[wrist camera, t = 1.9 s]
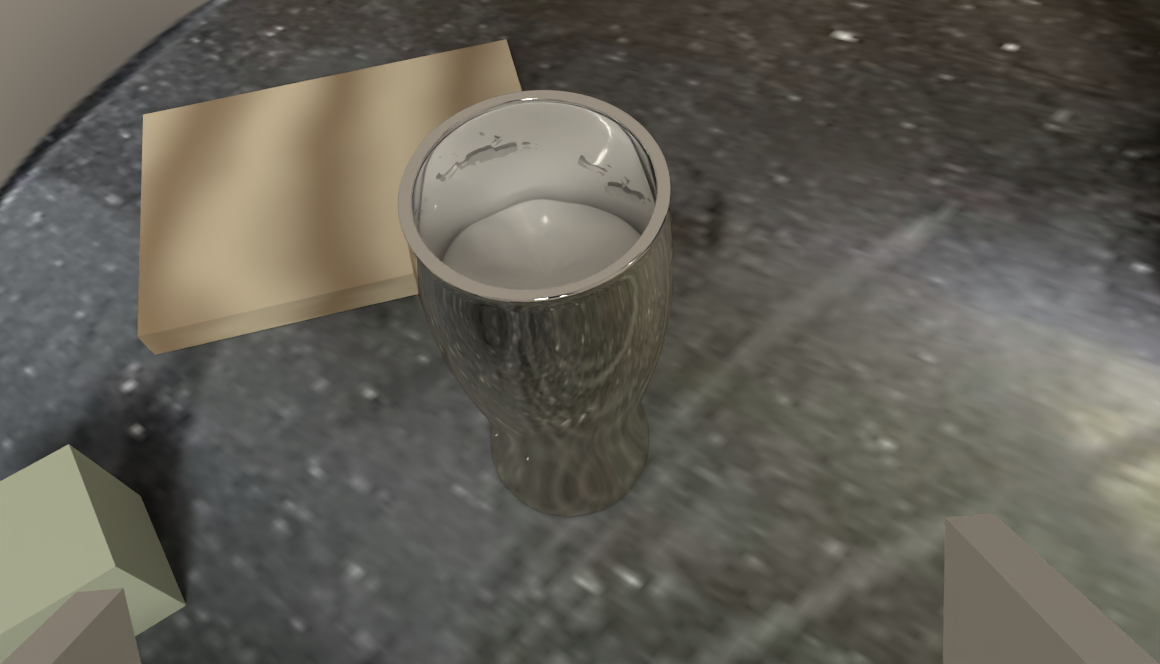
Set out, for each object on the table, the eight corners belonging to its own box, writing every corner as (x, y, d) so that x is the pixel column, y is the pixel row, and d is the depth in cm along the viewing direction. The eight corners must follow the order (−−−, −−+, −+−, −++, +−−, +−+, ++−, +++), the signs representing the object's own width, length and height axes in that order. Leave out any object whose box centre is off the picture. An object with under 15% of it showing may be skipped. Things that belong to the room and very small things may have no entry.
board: (509, 62, 44) (506, 39, 43) (569, 258, 38) (566, 238, 37) (157, 136, 43) (143, 114, 42) (154, 354, 36) (137, 336, 35)
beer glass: (520, 344, 36) (458, 60, 23) (682, 391, 34) (714, 114, 21) (452, 496, 32) (336, 263, 20) (628, 555, 31) (627, 344, 18)
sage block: (141, 496, 33) (68, 444, 29) (186, 605, 31) (115, 566, 27) (12, 570, 32) (-84, 527, 28) (49, 690, 30) (-49, 662, 25)
